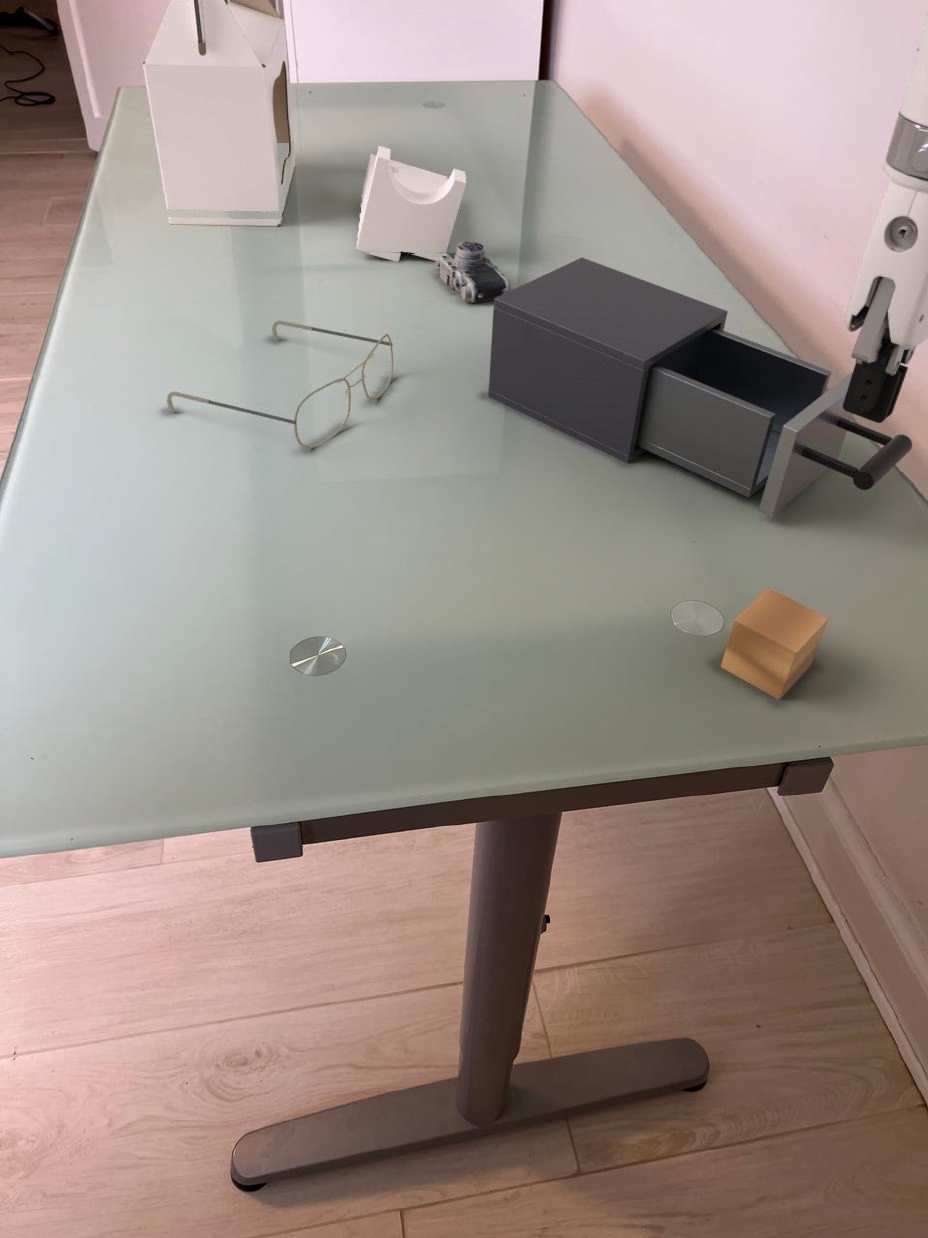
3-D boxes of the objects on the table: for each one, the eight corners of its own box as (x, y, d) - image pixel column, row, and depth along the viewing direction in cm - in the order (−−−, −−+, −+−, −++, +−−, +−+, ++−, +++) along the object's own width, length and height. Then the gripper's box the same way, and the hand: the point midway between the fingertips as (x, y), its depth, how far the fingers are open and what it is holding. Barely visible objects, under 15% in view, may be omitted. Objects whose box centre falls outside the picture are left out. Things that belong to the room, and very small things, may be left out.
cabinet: (705, 409, 91) (728, 310, 84) (627, 464, 84) (645, 360, 77) (570, 351, 98) (581, 256, 92) (487, 397, 91) (493, 297, 84)
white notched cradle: (439, 273, 114) (466, 183, 107) (356, 250, 111) (378, 156, 105) (436, 214, 127) (459, 130, 120) (361, 192, 125) (381, 106, 118)
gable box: (280, 228, 119) (254, -51, 100) (168, 226, 118) (121, -55, 99) (296, 165, 135) (276, -84, 116) (198, 163, 134) (162, -88, 115)
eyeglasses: (311, 460, 82) (307, 407, 79) (168, 413, 87) (158, 361, 84) (405, 377, 93) (405, 328, 90) (273, 339, 98) (268, 291, 94)
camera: (466, 309, 104) (468, 270, 101) (432, 270, 111) (432, 233, 108) (510, 302, 106) (513, 264, 103) (473, 264, 113) (475, 227, 110)
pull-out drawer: (902, 487, 81) (936, 403, 76) (840, 550, 74) (872, 463, 69) (690, 397, 90) (708, 317, 85) (619, 446, 84) (633, 362, 79)
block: (810, 666, 66) (829, 618, 63) (779, 701, 64) (796, 652, 61) (752, 635, 68) (768, 586, 65) (720, 667, 66) (734, 619, 63)
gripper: (967, 194, 55) (870, 472, 67) (1054, 139, 64) (954, 394, 76) (842, 163, 59) (771, 432, 71) (940, 115, 67) (862, 362, 80)
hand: (866, 412), depth 73 cm, fingers closed
